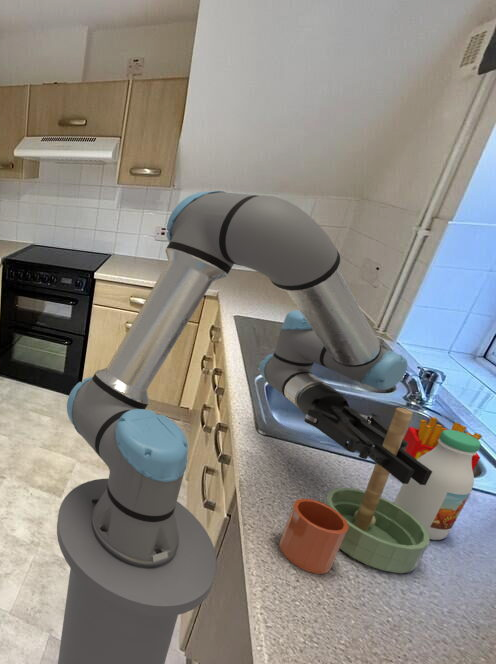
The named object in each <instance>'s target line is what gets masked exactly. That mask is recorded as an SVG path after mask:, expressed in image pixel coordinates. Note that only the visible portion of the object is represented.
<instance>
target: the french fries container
mask: <svg viewBox="0 0 496 664" xmlns="http://www.w3.org/2000/svg"><path fill="white" fill-rule="evenodd" d="M437 422H438V418H437V417H433V416H431V417H430V419H429V421H427V420H426V419H420V421H419V426H418V427H419V428H416V427H413V426H408V427H407V430H406V432H405V435H404V438H403V439H404V440H405V441H406V442H408V445H407V447H406V450H405V451H406V452H407V453H408V454H410V455H411V456H412V457H414V458H415V459H416V460H417V459H418V458H420V457H421V456H422V455H424V454H426V453H428V452H429V451H431V450H432V449H434V448H435V447H436V446H437V445H438V444H439V442H438V439H440V435H441V433H442V432H443V431H444V430H449V429H447V428H446V427H443V425H442V424H438V423H437ZM467 428H468V427H466V426H464V425H462V424H461V423H459V422H455V421H454V422H453V424H452V427H451V429H450V430H455V431H459V432H463V433H465V434H468V435H470V436H472V437H474V438H476V439H477V440H479V441H480V440H481V439H482V437H483V435H482V434H481V433H477V432H475V433H474V434H472V433H470V432H467V431H466V430H467ZM480 459H481V456H480V455H479V453H478V451H477V452H476V455H473V456H472V470H473V471H474V470H475V468H476V466H477V464H478V463H479V460H480Z"/></svg>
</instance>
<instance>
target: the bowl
mask: <svg viewBox="0 0 496 664" xmlns="http://www.w3.org/2000/svg"><path fill="white" fill-rule="evenodd" d="M365 491H366V490H363V489H358V488H354V487H346V486H345V487H335V488H333V489H331V490H329V491H328V493H327V495H326V498H325V500H324V503H323V504H325V505H327V506H329V507H331V508H333V509H334V510H336V511H337V512H338V513H340V514H341V515H342V516H343V517H344V519H345V520H346V521H347V524H348V526H349V528H348V530H347V533H346V535H345V537H344V539H343V542H342V544H341V546H340V548H339V550H341V551H342V552H343V553H345V554H346V555H348V556H349V557H351V558H352V559H354V560H356V561H358V562H360V563H362V564H364V565H366V566H369V567H371V568H374V569H377V570H381V571H384V572H389V573H396V574H403V573H411V572H412V571H413V570H415V569H416V568H417V567H418V565H419V564H420V561H421V559H422V558H423V556H424V554H425V552H426V550H427V549H428V547H429V545H430V540H431V539H430V536H429V534H428V532H427V530H426V529H425V527H424V526H423V525H422V524H421V523H420V522H419V521H418V520H417V519H416V518H415V517H414V516H412V515H411V514H410V513H408V512H407V511H406V510H404V509H403V508H401V507H400V506H398V505H396V504H394V502H392V501H391V500H389V499H386V498H385V497H382V496H381V497H380V500H379V503H378V505H377V508H376V510H375V513H374V517H375V519H376V522H375V524H374V525H373V526H372V527H369V529H368V531H363V530H361V529H359V528H358V527H356V526H355V525H354V521H355V519H354V513H355V511H357V510H359V507H360V505H361V502H362V499H363V496H364V494H365Z"/></svg>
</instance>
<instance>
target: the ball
mask: <svg viewBox="0 0 496 664" xmlns="http://www.w3.org/2000/svg"><path fill="white" fill-rule="evenodd" d="M357 513H358V510H357V511H355V513H354V519H355V518H356V515H357ZM375 522H376V519H375V517H374V516H373V518H372V521H371V523H370V526H369V527H372V526H373V525H374V524H375Z"/></svg>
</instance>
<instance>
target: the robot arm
mask: <svg viewBox="0 0 496 664" xmlns="http://www.w3.org/2000/svg"><path fill="white" fill-rule="evenodd" d="M166 229H167V232H166V238H167V240H168V242H169V243H168V245H167V246H166V247H165V251H164V252H165V254H166V257H167V263H166V265H165V266H164V268H163V270H162V271H161V273H160V275H159V276H158V278H157V281H156V282H155V284H154V285H153V287H152V289H151V291H150V293H149V294H148V296H147V297H146V299H145V301H144V303H143V304H142V306H141V308H140V310H139V311H138V313H137V315H136V317H135V318H134V320H133V322H132V324H131V325H130V327H129V329H128V330H127V332H126V334H125V336H124V337H123V339H122V341H121V343H120V344H119V346H118V348H117V350H116V351H115V353H114V355H113V356H112V358H111V360H110V362H109V364H108V366H107V367H105V368H103V369H97V370H96V371H95V372H94V374H93V376H89V377H85V378H83V381H79V382H77V383H76V385H74V387H73V388H72V389H71V391H70V393H69V395H68V397H67V401H66V413H67V417H68V419H69V421H70V423H71V424H72V426H73V428H74V430H76V433H78V435H80V436H81V437H82V438H83V440H84V441H86V443H87V444H88V445H89V447H90V448H91V449H92V450H93V451H94V452H95V453H96V455H98V457H99V459H101V460H102V462H103V463H104V464H105V465H106V466H107V467H108V471H109V474H108V478H109V480H108V486H107V489H106V491H105V492H104V493H103V495H102V496H101V498H100V499H93V500H92V503H96V506H95V508H94V510H93V516H92V529H93V532H94V535H95V537H96V539H97V540H98V542H99V543H100V544H101V546H102V547H103V548H104V549H105V550H106V551H107V552H108V553H110V554H111V555H112V556H114V557H115V558H117V559H118V560H120V561H122V562H124V563H126V564H129V565H132V566H135V567H140V568H158V567H161V566H164V565H166V564H168V563H169V562H170V561H171V560H172V559H173V558H174V556H175V555H176V552H177V548H178V544H179V534H178V529H177V523H176V518H175V512H174V510H175V506H176V502H178V498H179V494H180V491H181V487H182V483H183V479H184V476H185V471H186V469H187V464H188V453H189V443H188V440H187V437H186V434H185V433H184V431H183V430H182V429H181V428H180V427H179V425H178V424H177V423H176V422H175V421H173V420H172V419H170V418H169V417H167V416H166V415H163V414H157V413H156V412H155V411H153V410H150V409H147V407H148V406H149V404H150V398H149V395H148V389H149V387H150V386H151V384H152V382H153V381H154V379H155V377H156V376H157V374H158V373H159V371H160V370H161V367H162V366H163V364H164V363H165V361H166V360H167V358H168V356H169V354H170V353H171V351H172V349H174V346H175V344H176V343H177V342H178V340H179V338H180V337H181V334H182V333H183V331H184V330H185V328H186V327H187V325H188V323H189V321H190V320H191V319H192V316H193V315H194V313H195V312H196V310H197V308H198V307H199V305H200V303H201V301H202V300H203V298H204V297H205V295H206V294H207V292H208V290H209V289H210V287H211V285H212V284H213V282H215V281H217V280H220V279H224V278H227V277H228V275H229V273H230V271H231V270H232V268H233V266H234V265H236V266H240V267H245V268H248V269H251V270H254V271H256V272H258V273H261V274H262V275H264V276H265V277H267V278H268V279H269V280H270V282H271V284H273V286H274V287H276V288H278V289H279V290H281V291H285V292H287V295H288V296H289V297H290V298H291V300H292V302H293V303H294V305H295V306H296V307H297V310H291V311H289V312H287V314H286V315H285V317H284V320H283V322H282V326H281V327H280V331H279V334H278V338H277V342H276V344H275V345H276V346H275V349H274V353H270V354H267V355H266V356H265V357H264V359H262V360H261V361H260V362H259V366H258V371H259V375H260V376H261V377H262V378H263V380H264V381H266V383H267V384H268V385H269V386H270V387H272V388H273V389H275V390H276V391H278V392H279V393H280V394H281V395H282V396H283V397H284V398H285V399H287V400H288V401H289V402H290V403H291V404H293V405H294V406H295V407H297V409H298V410H300V412H301V413H303V414H304V415H305V417H304V423H306V424H308V425H310V426H312V427H314V428H316V429H317V430H319V431H320V432H321V433H323V434H324V435H325V436H327V437H328V438H330V439H331V440H332V441H333V442H335V443H336V444H338V445H339V446H340V447H342V448H343V449H345V450H346V451H348V452H350V453H355V452H358V458H360V459H362V460H367V459H368V458H369V459H371V461H373V462H374V463H375V464H376V463H377V464H379V465H381V466H382V467H383V468H384V469H386V470H387V471H388V472H389V473H390V474H389V475H391V476H393V477H394V478H395V479H396V480H397V481H399V482H400V483H401V484H408V483H409V481H410V479H411V478H412V479H414V480H415V481H416V482H418V483H419V484H420V485H426V483H427V481H428V479H429V477H430V475H431V473H432V471H431V470H430V469H428V468H427V467H426V466H424V465H423V464H421V463H420V462H419V461H417V460H416V459H415V458H414V457H412V456H411V455H410V454H408V453H407V452H406V451H405V450H406V447H407V445H408V442H406V441H405V440H404V438H403V440H402V443H401V445H400V448H399V451H398V453H397V456H395V455H394V454H392V453H391V452H390V451H388V450H387V449H386V448H384V447H383V446H382V445H383V442H384V440H385V437H386V434H387V431H388V429H389V425H388V424H387V423H385V422H384V421H382V420H381V417H380V416H379V415H378V414H376V413H370V414H369V415H365V414H361V412H360V411H359V410H357V409H355V408H353V407H351V406H350V405H349V402H348V400H347V398H346V397H345V395H343V394H342V393H341V392H340V391H338V390H336V389H335V388H334V387H332V386H330V384H328V383H327V382H325V381H324V380H322V379H321V378H319V377H318V376H317V375H315V374H313V373H312V368H313V365H314V364H317V365H320V366H322V367H324V368H326V369H328V370H331V371H333V372H335V373H337V374H340V375H342V376H345V377H346V378H349V379H351V380H354V381H356V382H358V383H360V384H361V385H366V386H368V387H370V388H374V389H376V390H379V391H386V390H390V389H392V388H393V387H395V386H396V385H398V383H399V382H401V380H402V379H403V378H404V377H405V375H406V373H407V370H408V360H407V359H406V357H405V356H404V355H401V354H398V353H397V352H394V351H393V350H392V349H385V348H384V347H383V346H382V345H381V343H380V341H379V339H378V338H377V335H376V334H375V332H374V330H373V329H372V327H371V325H370V323H369V321H368V320H367V318H366V316H365V314H364V312H363V310H362V309H361V307H360V305H359V303H358V302H357V299H356V298H355V296H354V295H353V293H352V291H351V289H350V287H349V285H348V283H347V282H346V280H345V278H344V277H343V275H342V272H341V271H340V266H341V263H342V262H341V261H342V258H341V255H340V252H339V251H338V249H337V247H336V245H335V244H334V242H333V241H332V239H331V238H330V235H328V234H327V232H326V231H325V230H324V229H323V227H321V225H319V223H318V222H317V221H316V220H315V219H314V218H313V217H311V216H310V215H309V214H308V213H307V212H306V211H304V210H303V209H301V208H300V207H299V206H297V205H296V204H294V203H293V202H291V201H288V200H286V199H284V198H281V197H278V196H273V195H258V194H247V193H237V192H236V193H233V192H226V191H223V190H212V191H200V192H196V193H194V194H191V195H188V196H187V197H185V198H184V199H183V200H181V201H180V202H179V203H178V204H177V205H176V207H174V209H173V211H172V212H171V214H170V215H169V218H168V220H167V223H166Z"/></svg>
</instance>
